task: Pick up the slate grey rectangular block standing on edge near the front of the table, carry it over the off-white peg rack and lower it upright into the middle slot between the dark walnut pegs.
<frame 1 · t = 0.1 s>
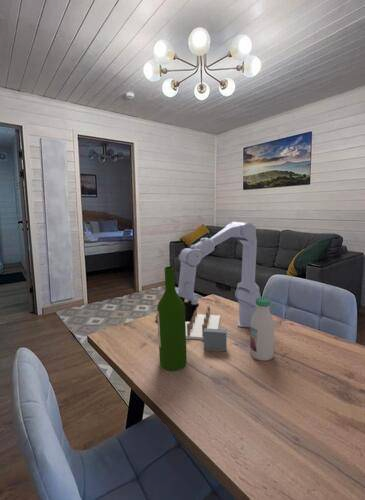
hand: (182, 317, 100), 10 cm above the table, tool pointing down, fingers open, 7 cm apart
milk bottle: (261, 355, 93), on the table
wine bottle: (173, 363, 90), on the table
pastry: (165, 321, 122), on the table
slate grey rectangular block: (215, 348, 98), on the table
peg rack: (199, 326, 115), on the table
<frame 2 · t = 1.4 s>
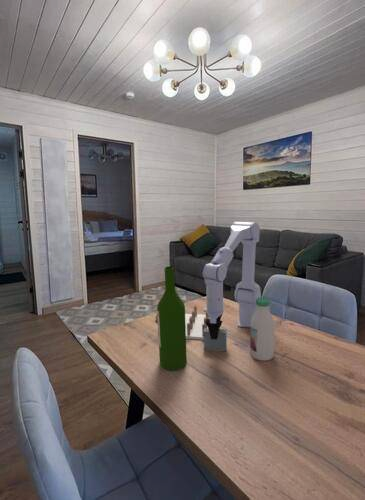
hand: (215, 333, 97), 6 cm above the table, tool pointing down, fingers open, 7 cm apart
nothing on the table moved.
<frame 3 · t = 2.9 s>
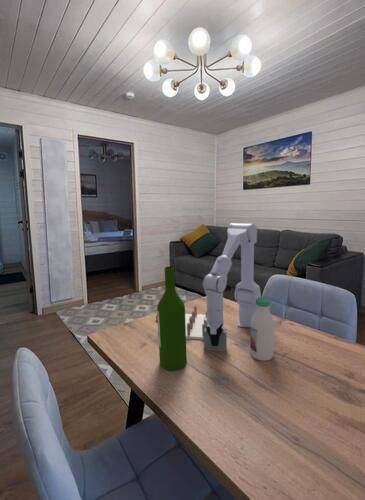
hand: (215, 343, 98), 2 cm above the table, tool pointing down, fingers closed on slate grey rectangular block, 2 cm apart
slate grey rectangular block: (215, 348, 98), on the table, touching gripper
everything else where it was.
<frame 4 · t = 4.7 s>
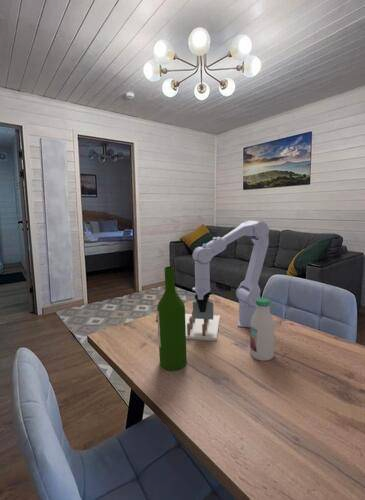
hand: (203, 310, 108), 9 cm above the table, tool pointing down, fingers closed on slate grey rectangular block, 2 cm apart
slate grey rectangular block: (203, 317, 109), point 6 cm above the table, touching gripper
everything else where it was.
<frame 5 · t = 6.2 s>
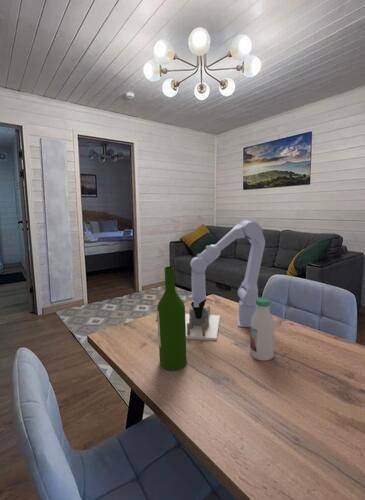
hand: (199, 317, 114), 4 cm above the table, tool pointing down, fingers closed on slate grey rectangular block, 2 cm apart
slate grey rectangular block: (199, 324, 115), point 1 cm above the table, touching gripper, peg rack
when the fingers open (4 cm above the table, at t = 6.7 s): slate grey rectangular block stays where it is, resting on peg rack.
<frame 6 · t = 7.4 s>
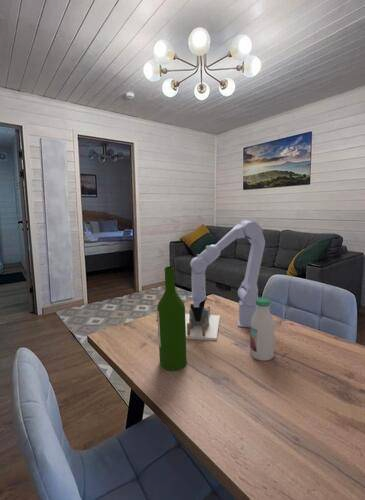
hand: (199, 317, 114), 4 cm above the table, tool pointing down, fingers open, 7 cm apart
slate grey rectangular block: (199, 324, 115), point 1 cm above the table, touching peg rack
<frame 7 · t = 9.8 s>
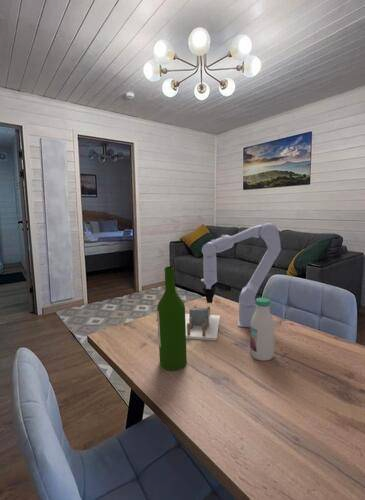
hand: (210, 299, 120), 9 cm above the table, tool pointing down, fingers open, 7 cm apart
at the end: slate grey rectangular block 0.1 cm off-centre on the peg rack, point 1.0 cm above the peg rack's base; slate grey rectangular block tilted 0°; the gripper is holding nothing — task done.
